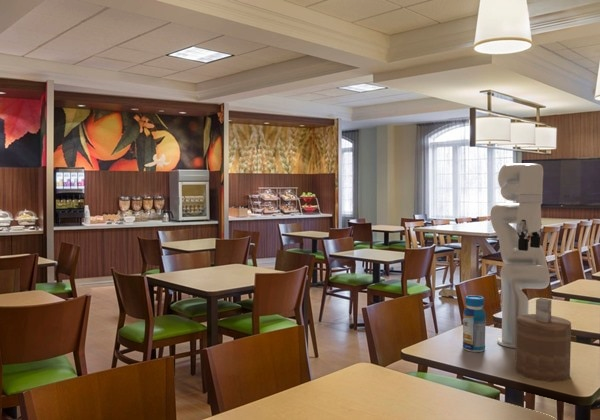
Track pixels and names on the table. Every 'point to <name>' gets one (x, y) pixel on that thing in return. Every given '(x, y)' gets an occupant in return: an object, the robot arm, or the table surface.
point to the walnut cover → (543, 344)
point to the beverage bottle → (474, 324)
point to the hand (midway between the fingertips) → (529, 248)
